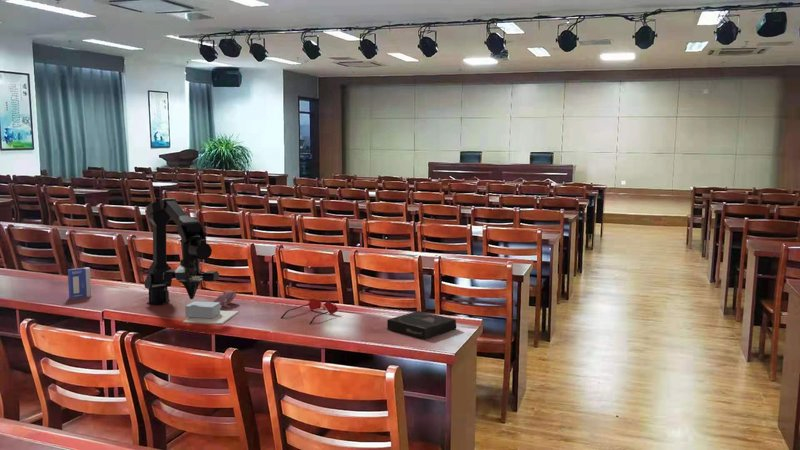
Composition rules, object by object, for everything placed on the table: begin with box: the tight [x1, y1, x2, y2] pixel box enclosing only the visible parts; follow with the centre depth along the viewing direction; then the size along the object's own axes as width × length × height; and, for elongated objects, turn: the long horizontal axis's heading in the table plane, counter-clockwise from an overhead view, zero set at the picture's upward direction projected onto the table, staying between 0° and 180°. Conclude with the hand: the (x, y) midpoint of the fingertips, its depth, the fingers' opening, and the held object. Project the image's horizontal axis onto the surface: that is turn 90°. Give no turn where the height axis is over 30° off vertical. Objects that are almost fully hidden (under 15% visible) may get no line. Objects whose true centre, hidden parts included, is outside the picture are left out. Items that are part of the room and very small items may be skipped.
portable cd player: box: [386, 310, 457, 341], centre depth 213 cm, size 16×17×4 cm
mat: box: [182, 310, 239, 325], centre depth 224 cm, size 14×16×1 cm
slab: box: [184, 301, 221, 318], centre depth 224 cm, size 4×7×10 cm
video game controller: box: [212, 289, 237, 307], centre depth 242 cm, size 10×5×7 cm, turn 161°
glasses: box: [280, 298, 339, 325], centre depth 228 cm, size 14×16×5 cm
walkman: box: [67, 266, 92, 300], centre depth 252 cm, size 8×3×12 cm, turn 134°
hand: (191, 298), depth 224 cm, fingers closed
